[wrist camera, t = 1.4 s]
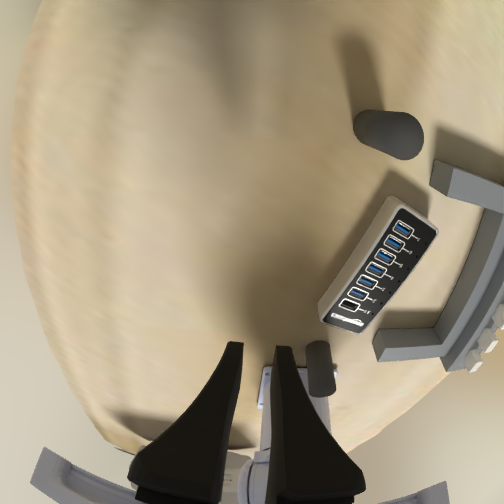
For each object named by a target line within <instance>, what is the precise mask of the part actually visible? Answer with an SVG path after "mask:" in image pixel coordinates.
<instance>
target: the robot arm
mask: <svg viewBox="0 0 504 504" xmlns="http://www.w3.org/2000/svg"><path fill="white" fill-rule="evenodd" d="M243 346H244V343H242V342H233V341H230V342H228V343H227V346H226V349H225V351H224V353H223V356H222V358H221V360H220V362H219V364H218V365H217V367H216V369H215V371H214V372H213V374H212V376H211V377H210V379H209V381H208V382H207V383H206V385H205V386H204V388H203V389H202V391H201V392H200V394H199V395H198V396H197V398H196V399H195V400H194V401H193V403H192V404H191V405H190V406H189V407H188V409H187V410H186V411H185V412H184V413H183V414H182V415H181V416H180V417H179V418H178V419H177V420H176V421H175V422H174V423H173V424H172V425H171V426H170V427H169V428H168V429H167V430H166V431H165V432H164V433H162V434H161V435H160V436H159V437H158V438H157V439H155V440H154V441H153V442H151V443H150V444H149V445H147V446H146V447H145V448H143V449H142V450H140V451H139V452H138V453H137V455H136V456H135V458H134V460H133V462H132V464H131V466H130V469H129V473H128V476H127V478H128V480H129V481H131V482H133V483H134V484H136V485H138V488H137V491H134V490H130V489H128V488H125V487H123V486H120V485H117V484H114V483H112V482H110V481H107V480H105V479H103V478H100V477H98V476H96V475H94V474H91V473H89V472H87V471H85V470H83V469H81V468H79V467H77V466H75V465H73V464H71V462H69V461H68V460H66V459H64V458H63V457H61V456H59V455H58V454H56V453H54V452H52V451H51V450H49V449H47V448H46V447H44V448H43V450H42V453H41V455H40V458H39V460H38V463H37V465H36V468H35V470H34V473H33V476H32V478H31V481H30V483H31V484H32V485H33V486H35V487H36V488H37V489H39V490H40V491H42V492H43V493H45V494H46V495H47V496H49V497H50V498H52V499H53V500H55V501H56V502H58V503H59V504H219V502H220V501H221V498H222V490H223V481H224V473H225V465H226V457H227V449H228V441H229V434H230V429H231V424H232V420H233V416H234V412H235V407H236V403H237V399H238V394H239V390H240V383H241V374H242V363H243ZM333 370H334V376H335V378H336V376H337V374H338V372H337V370H336V369H333ZM257 408H259V409H263V412H262V426H261V440H260V451H257V452H255V454H254V459H250V460H248V461H247V462H246V463H245V464H244V465H243V466H242V468H241V470H240V473H239V477H238V483H237V497H238V502H239V504H352V503H354V496H355V495H357V494H360V493H362V492H364V491H365V490H366V484H365V479H364V476H363V473H362V470H361V469H360V468H359V467H358V466H357V465H356V464H355V463H354V462H353V461H352V460H351V459H350V458H349V457H348V455H347V454H346V453H345V452H344V451H343V450H342V448H341V447H340V446H339V445H338V443H337V442H336V441H335V439H334V438H333V437H332V435H331V424H330V413H329V403H328V396H327V397H323V398H315V397H312V396H310V395H309V389H308V375H307V368H297V366H296V363H295V359H294V356H293V352H292V348H291V347H290V346H276V350H275V355H274V360H273V365H272V367H270V366H267V367H264V369H263V374H262V380H261V386H260V392H259V398H258V404H257ZM379 504H449V497H448V490H447V483H446V481H444V482H441V483H439V484H436V485H434V486H431V487H428V488H426V489H423V490H421V491H419V492H417V493H415V494H411V495H408V496H405V497H402V498H398V499H395V500H391V501H387V502H383V503H379Z"/></svg>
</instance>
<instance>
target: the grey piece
mask: <svg viewBox="0 0 504 504" xmlns="http://www.w3.org/2000/svg"><path fill="white" fill-rule="evenodd" d="M430 186H431V187H433V188H434V189H436V190H437V191H439V192H441V193H442V194H444V195H445V196H447V197H450V198H454V199H457V200H461V201H464V202H468V203H471V204H475V205H478V206H481V207H484V208H485V210H484V214H483V217H482V220H481V223H480V226H479V229H478V232H477V235H476V238H475V241H474V243H473V246H472V249H471V251H470V254H469V256H468V259H467V261H466V264H465V266H464V268H463V271H462V273H461V275H460V277H459V280H458V282H457V284H456V286H455V288H454V290H453V292H452V294H451V296H450V298H449V300H448V302H447V304H446V306H445V308H444V310H443V312H442V314H441V315H440V317H439V319H438V321H437V323H436V324H435V326H434V328H416V329H379V330H378V332H377V334H376V336H375V338H374V340H373V342H372V345H373V348H374V352H375V355H376V358H377V362H388V361H403V360H415V359H425V358H434V357H440V359H441V361H442V363H443V366H444V368H445V370H446V372H450V371H455V370H460V369H465V368H466V369H467V370H468V373H470V372H475V371H476V370H477V368H478V367H479V366H480V365H481V364H482V362H483V360H482V358H481V356H480V353H481V351H482V350H483V352H484V353H487V352H491V350H492V349H493V348H494V346H495V345H496V344H497V342H498V338H497V336H496V335H495V331H496V330H497V328H499V330H504V186H503V185H501V184H499V183H497V182H494V181H492V180H490V179H487V178H485V177H482V176H480V175H477V174H475V173H472V172H469V171H467V170H464V169H461V168H458V167H455V166H453V165H450V164H447V163H444V162H441V161H437V160H435V162H434V167H433V172H432V177H431V181H430Z"/></svg>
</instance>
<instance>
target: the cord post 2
mask: <svg viewBox="0 0 504 504" xmlns="http://www.w3.org/2000/svg"><path fill="white" fill-rule="evenodd" d="M353 130H354V133H355V136H356V137H357V139H358V140H359V141H360V142H362V143H363V144H365V145H368V146H370V147H372V148H375V149H377V150H379V151H382V152H384V153H386V154H388V155H390V156H393V157H395V158H397V159H400V160H409V159H412V158H414V157H416V156H417V155H418V154H419V152H420V151H421V149H422V147H423V143H424V133H423V129H422V127H421V125H420V123H419V122H418V120H417V119H416V118H415V117H413V116H412V115H410V114H408V113H405V112H392V111H374V110H366V111H363V112H361V113H359V114H358V115H357V116H356V118H355V120H354V124H353Z"/></svg>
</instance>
